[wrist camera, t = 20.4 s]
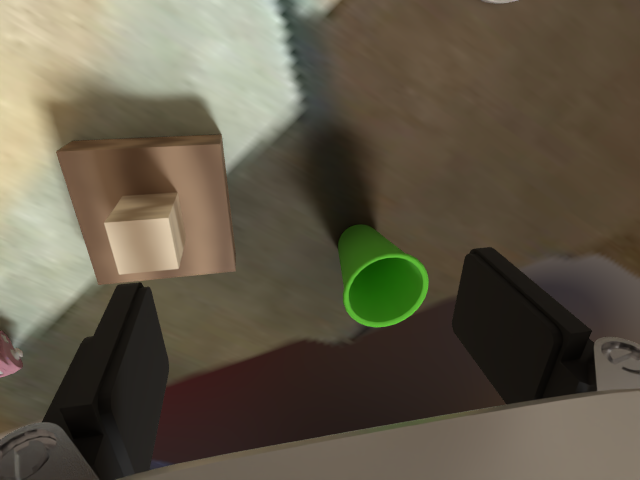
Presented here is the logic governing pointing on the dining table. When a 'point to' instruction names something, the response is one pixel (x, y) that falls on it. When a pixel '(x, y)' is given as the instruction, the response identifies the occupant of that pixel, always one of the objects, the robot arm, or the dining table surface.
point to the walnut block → (153, 178)
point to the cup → (379, 278)
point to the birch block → (146, 233)
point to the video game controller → (9, 356)
